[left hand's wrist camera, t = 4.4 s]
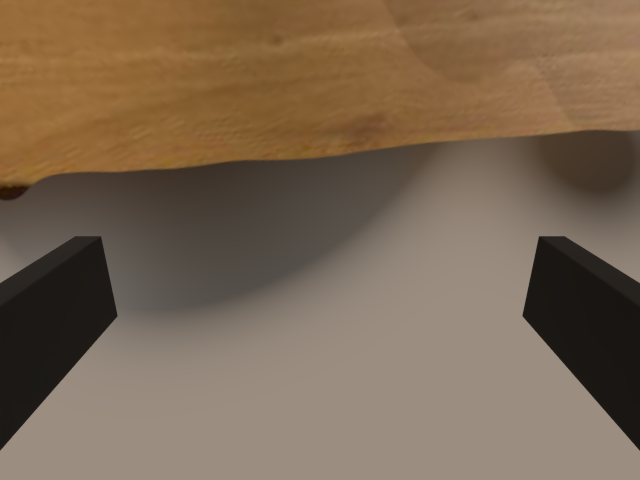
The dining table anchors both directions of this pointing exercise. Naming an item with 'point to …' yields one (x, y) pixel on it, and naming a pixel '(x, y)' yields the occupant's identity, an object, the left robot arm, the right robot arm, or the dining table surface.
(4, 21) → the dining table surface
